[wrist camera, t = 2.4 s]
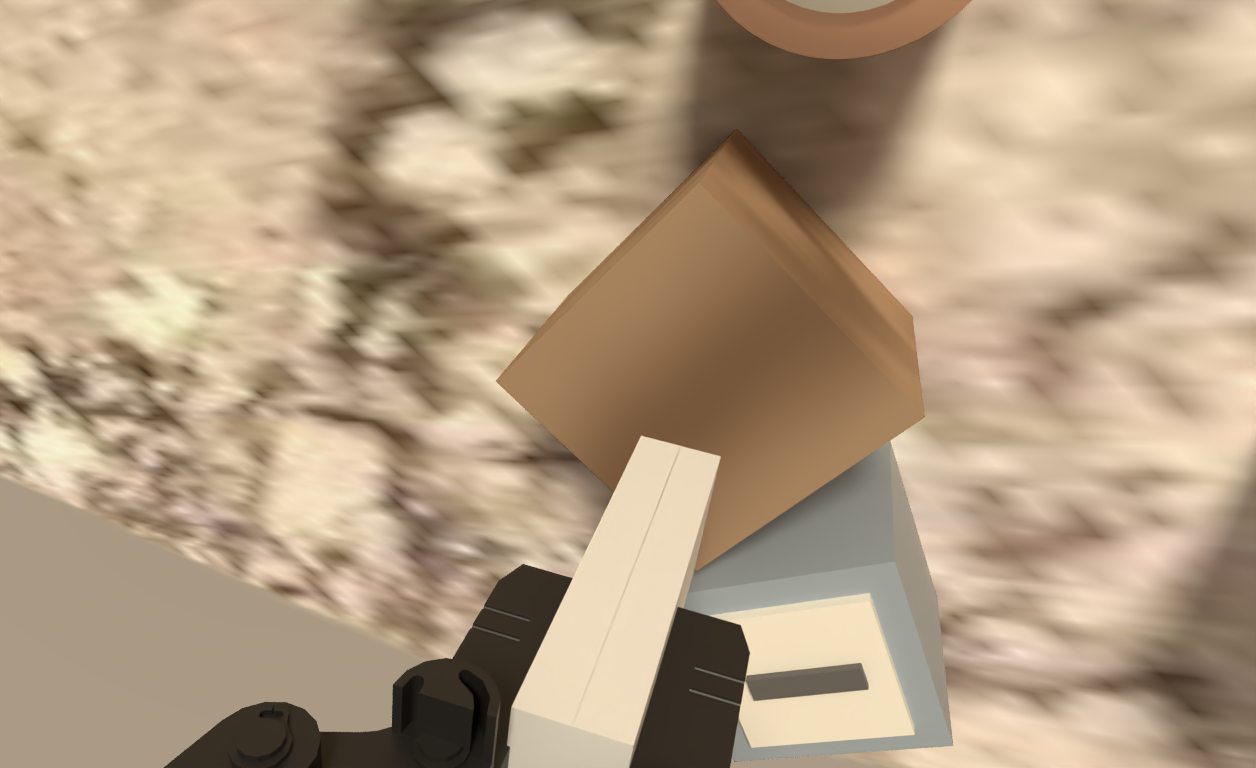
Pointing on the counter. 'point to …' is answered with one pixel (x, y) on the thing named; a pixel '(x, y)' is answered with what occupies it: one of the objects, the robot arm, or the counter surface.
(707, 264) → the walnut block
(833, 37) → the terracotta cylinder
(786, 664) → the slate block
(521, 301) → the counter surface
